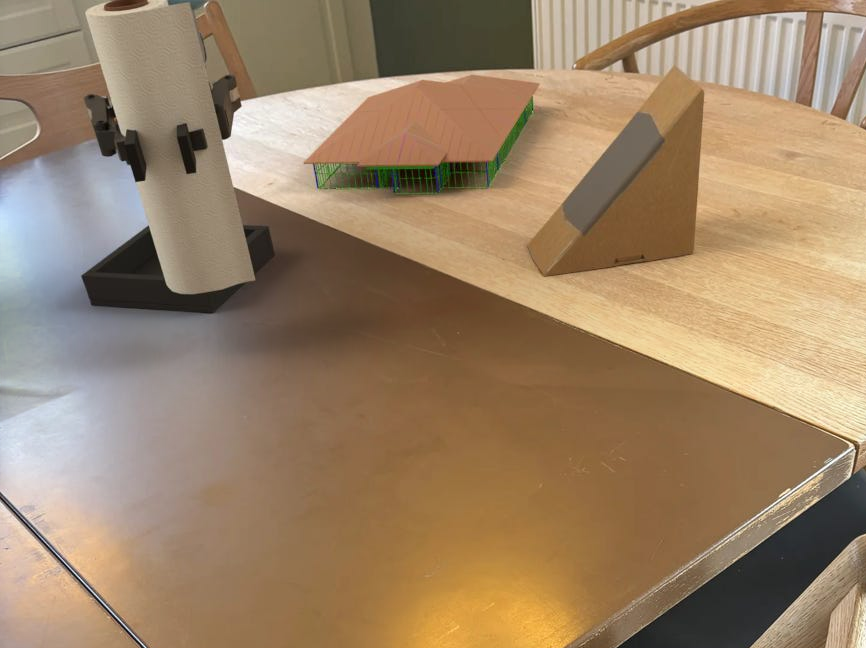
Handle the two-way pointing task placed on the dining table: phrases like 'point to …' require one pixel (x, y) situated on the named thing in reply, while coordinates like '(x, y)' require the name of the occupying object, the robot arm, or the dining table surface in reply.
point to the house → (429, 129)
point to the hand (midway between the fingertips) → (160, 158)
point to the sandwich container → (633, 190)
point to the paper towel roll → (173, 140)
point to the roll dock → (160, 276)
